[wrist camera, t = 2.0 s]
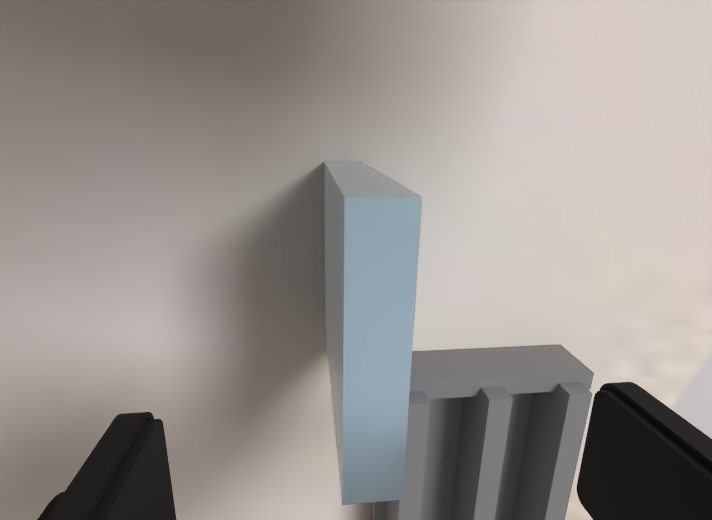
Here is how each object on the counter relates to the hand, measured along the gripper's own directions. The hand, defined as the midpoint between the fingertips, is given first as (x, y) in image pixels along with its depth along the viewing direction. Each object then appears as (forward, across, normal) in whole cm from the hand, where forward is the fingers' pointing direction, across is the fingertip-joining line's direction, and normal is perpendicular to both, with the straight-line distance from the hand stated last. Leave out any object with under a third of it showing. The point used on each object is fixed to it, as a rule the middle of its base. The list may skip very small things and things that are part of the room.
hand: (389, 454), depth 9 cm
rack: (+14, -8, +14) cm, 21 cm away
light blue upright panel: (+13, 0, -1) cm, 13 cm away
